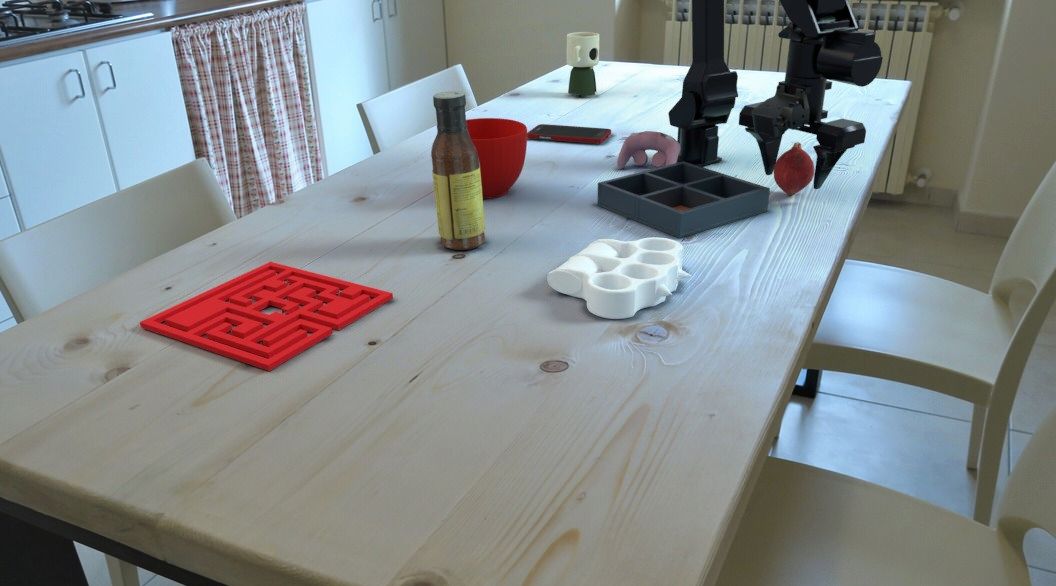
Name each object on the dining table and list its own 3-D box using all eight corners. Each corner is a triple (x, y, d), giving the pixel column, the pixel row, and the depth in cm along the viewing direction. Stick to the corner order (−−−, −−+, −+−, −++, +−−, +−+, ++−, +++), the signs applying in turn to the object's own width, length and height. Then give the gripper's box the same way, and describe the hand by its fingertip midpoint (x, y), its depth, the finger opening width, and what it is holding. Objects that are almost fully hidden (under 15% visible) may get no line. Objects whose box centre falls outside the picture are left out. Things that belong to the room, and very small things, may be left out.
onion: (812, 202, 131) (819, 148, 127) (771, 200, 132) (778, 147, 128) (808, 190, 136) (816, 138, 132) (769, 188, 137) (776, 137, 133)
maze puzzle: (269, 370, 90) (268, 365, 89) (140, 327, 99) (139, 322, 99) (393, 298, 104) (392, 293, 104) (271, 266, 114) (270, 261, 113)
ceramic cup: (409, 200, 136) (404, 135, 131) (486, 174, 147) (483, 113, 142) (468, 218, 128) (465, 150, 123) (545, 189, 139) (544, 126, 134)
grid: (597, 205, 132) (597, 182, 130) (681, 182, 140) (683, 161, 139) (679, 238, 119) (681, 213, 118) (767, 211, 128) (770, 188, 126)
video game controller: (677, 178, 147) (685, 136, 147) (671, 173, 143) (679, 130, 143) (621, 172, 151) (628, 131, 151) (613, 167, 147) (621, 125, 146)
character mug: (590, 102, 191) (592, 38, 185) (559, 100, 194) (559, 37, 187) (604, 91, 200) (605, 30, 194) (574, 89, 202) (574, 29, 196)
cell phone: (601, 144, 161) (601, 139, 160) (525, 138, 165) (525, 133, 165) (612, 134, 167) (612, 128, 166) (539, 128, 172) (539, 123, 171)
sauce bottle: (492, 238, 121) (486, 89, 112) (475, 254, 116) (468, 100, 106) (448, 233, 123) (438, 87, 113) (429, 249, 118) (418, 98, 108)
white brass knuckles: (602, 250, 116) (708, 271, 109) (533, 301, 103) (649, 329, 96) (602, 226, 114) (711, 246, 108) (533, 275, 101) (651, 301, 94)
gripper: (717, 72, 128) (708, 177, 136) (823, 93, 115) (807, 208, 122) (769, 62, 134) (758, 164, 141) (877, 81, 120) (858, 192, 128)
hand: (792, 181), depth 133 cm, fingers open, 9 cm apart
